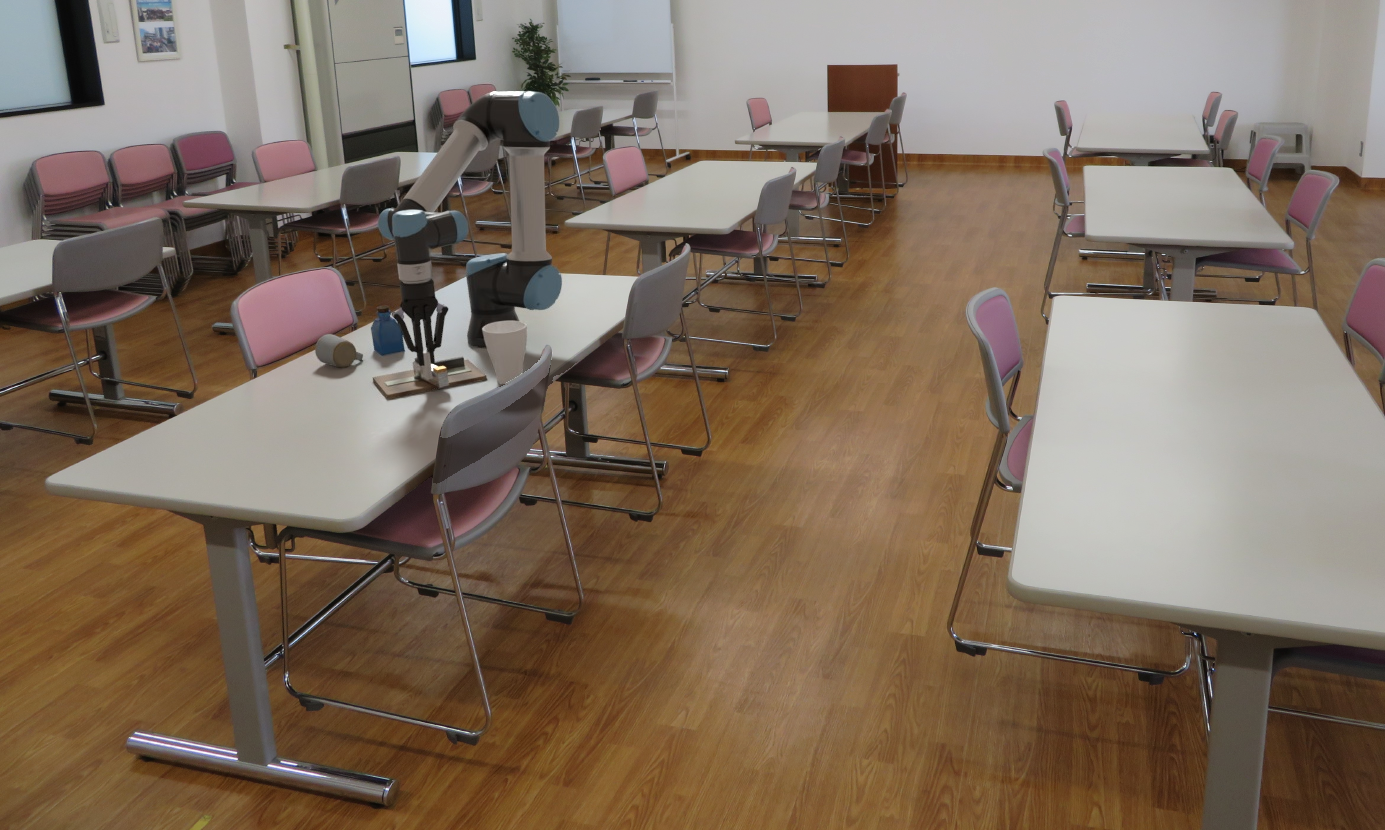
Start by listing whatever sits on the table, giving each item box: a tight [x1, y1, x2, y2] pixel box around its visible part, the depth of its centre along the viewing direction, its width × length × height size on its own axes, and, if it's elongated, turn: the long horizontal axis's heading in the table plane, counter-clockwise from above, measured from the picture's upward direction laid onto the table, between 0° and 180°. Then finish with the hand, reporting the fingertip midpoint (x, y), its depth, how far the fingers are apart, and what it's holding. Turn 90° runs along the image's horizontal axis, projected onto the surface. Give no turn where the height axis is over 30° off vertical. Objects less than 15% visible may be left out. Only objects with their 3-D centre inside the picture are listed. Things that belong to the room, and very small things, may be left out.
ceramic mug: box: [314, 333, 364, 369], centre depth 272 cm, size 11×8×8 cm
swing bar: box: [412, 360, 449, 388], centre depth 253 cm, size 13×4×4 cm, turn 40°
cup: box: [482, 320, 528, 385], centre depth 254 cm, size 10×10×14 cm
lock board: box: [372, 356, 488, 400], centre depth 257 cm, size 24×15×6 cm, turn 118°
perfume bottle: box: [370, 305, 406, 356], centre depth 280 cm, size 6×6×12 cm
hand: (428, 377), depth 250 cm, fingers closed
